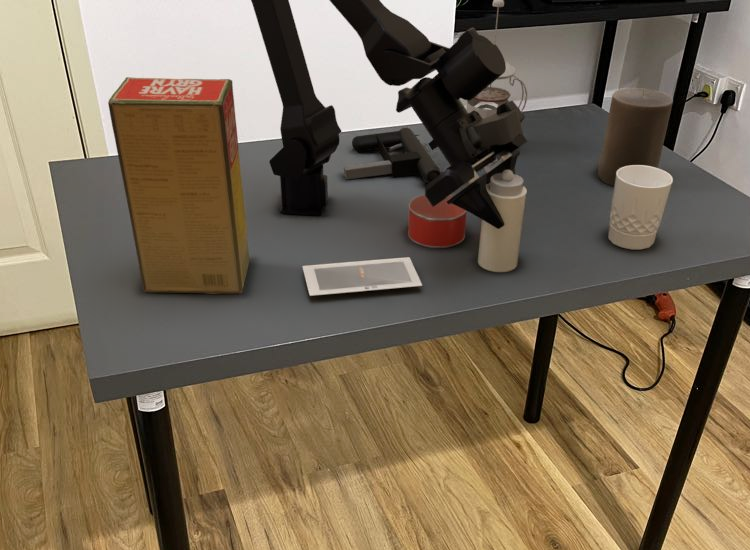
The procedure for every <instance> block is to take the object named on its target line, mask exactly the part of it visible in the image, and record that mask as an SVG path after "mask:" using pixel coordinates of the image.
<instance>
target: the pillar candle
mask: <svg viewBox="0 0 750 550" xmlns="http://www.w3.org/2000/svg"><path fill="white" fill-rule="evenodd" d="M673 103H674V99H673V97H672V96H671V95H670V94H668V93H665V92H664V91H661V90H655V89H652V88H651V89H650V88H644V87H620V88H619V89H616V90H615V91H613V92H612V95H611V100H610V107H609V112H608V116H607V122H606V127H605V133H604V138H603V142H602V147H601V153H600V158H599V163H598V168H597V176H598V177H599V179H600V180H601V181H602V182H604V183H605V184H606V185H609V186H612V187H614V185H615V179H616V172H617V170H618V169H620V168H622V167H625V166H630V165H645V166H651V167H655V168H659V166H660V161H661V156H662V152H663V147H664V142H665V139H666V134H667V130H668V126H669V121H670V116H671V113H672V112H671V111H672V108H673Z"/></svg>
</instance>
